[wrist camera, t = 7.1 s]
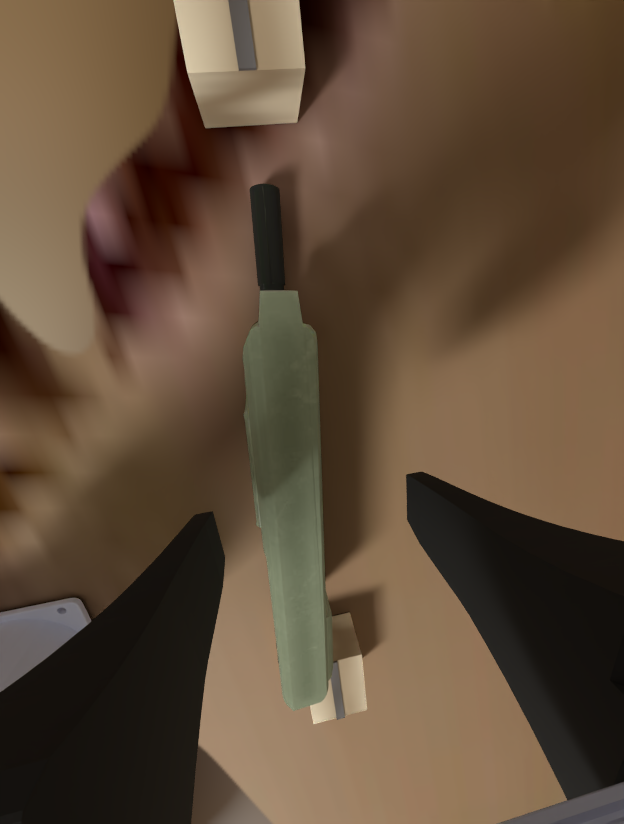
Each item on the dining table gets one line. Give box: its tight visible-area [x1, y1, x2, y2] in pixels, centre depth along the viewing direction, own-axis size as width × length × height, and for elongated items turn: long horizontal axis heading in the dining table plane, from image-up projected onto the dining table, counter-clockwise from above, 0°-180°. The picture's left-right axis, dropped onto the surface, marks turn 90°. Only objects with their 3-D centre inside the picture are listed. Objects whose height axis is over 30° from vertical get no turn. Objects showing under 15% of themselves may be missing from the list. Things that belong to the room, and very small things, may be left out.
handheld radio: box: [243, 184, 333, 711], centre depth 15 cm, size 7×3×25 cm
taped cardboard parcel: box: [173, 0, 367, 724], centre depth 16 cm, size 4×42×3 cm, turn 7°
